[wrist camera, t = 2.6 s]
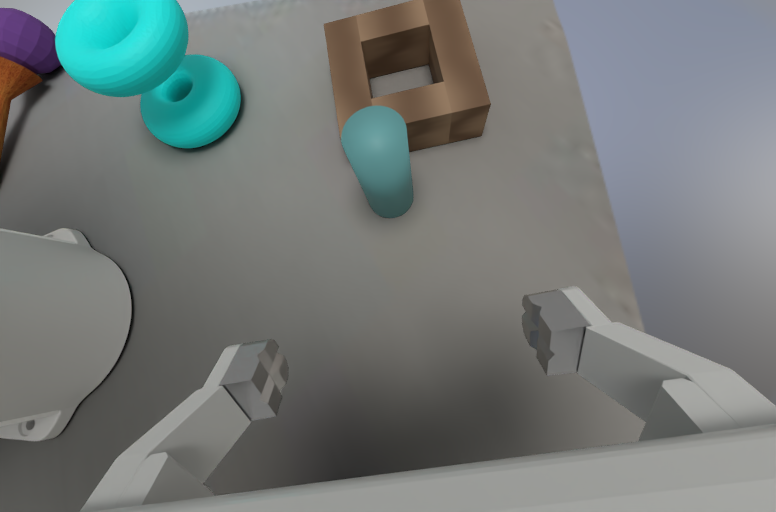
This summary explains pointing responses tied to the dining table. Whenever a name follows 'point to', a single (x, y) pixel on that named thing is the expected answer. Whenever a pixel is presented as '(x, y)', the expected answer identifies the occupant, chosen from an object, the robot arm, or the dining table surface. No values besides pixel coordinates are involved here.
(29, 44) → the kendama
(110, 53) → the donuts
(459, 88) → the brown square frame block
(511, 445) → the dining table surface
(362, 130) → the teal rounded cylinder
